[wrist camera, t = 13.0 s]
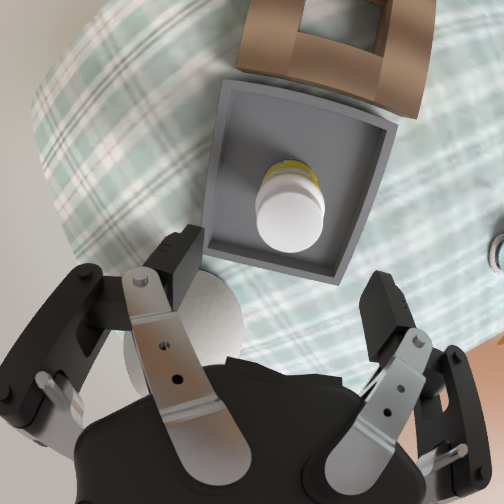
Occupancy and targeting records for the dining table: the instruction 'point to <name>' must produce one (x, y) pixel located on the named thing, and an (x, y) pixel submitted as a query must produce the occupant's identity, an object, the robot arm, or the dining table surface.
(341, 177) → the charcoal tray
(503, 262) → the pacifier
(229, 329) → the decorative egg
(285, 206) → the supplement bottle
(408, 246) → the dining table surface
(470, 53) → the dining table surface
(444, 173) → the dining table surface
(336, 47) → the walnut holder
